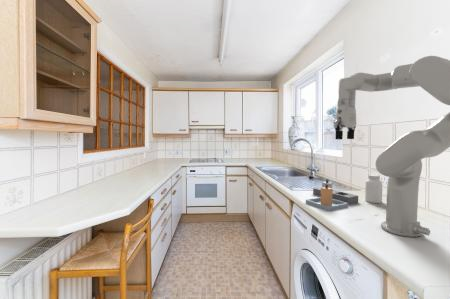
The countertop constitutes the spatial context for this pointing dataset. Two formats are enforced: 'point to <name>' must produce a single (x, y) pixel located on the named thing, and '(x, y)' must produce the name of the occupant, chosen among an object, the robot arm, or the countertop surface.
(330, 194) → the plug
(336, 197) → the grey two-slot holder
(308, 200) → the tray
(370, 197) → the pill bottle
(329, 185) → the twin plug
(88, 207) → the countertop surface
